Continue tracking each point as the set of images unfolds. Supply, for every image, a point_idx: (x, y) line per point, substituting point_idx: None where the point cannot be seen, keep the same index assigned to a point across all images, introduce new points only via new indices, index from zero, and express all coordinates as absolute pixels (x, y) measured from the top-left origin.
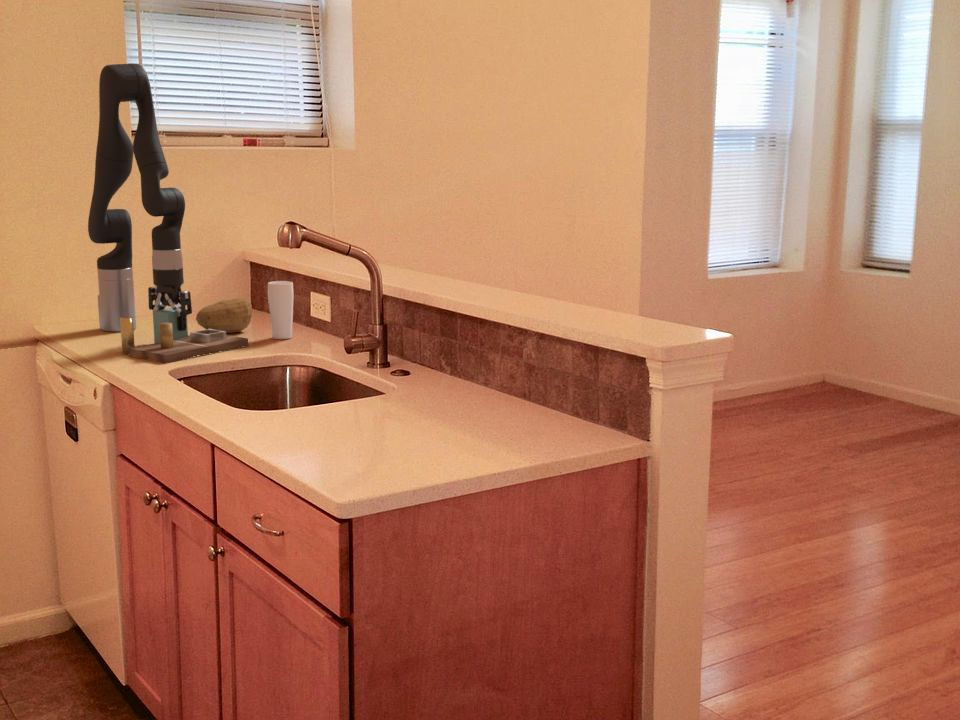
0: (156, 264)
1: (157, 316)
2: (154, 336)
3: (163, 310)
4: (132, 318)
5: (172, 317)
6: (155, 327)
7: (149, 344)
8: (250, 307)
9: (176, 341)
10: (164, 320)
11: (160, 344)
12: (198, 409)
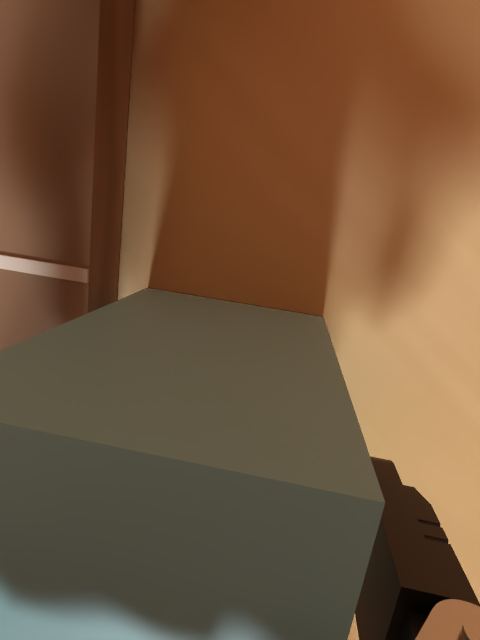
0: None
1: (233, 415)
2: (323, 333)
3: (220, 625)
4: None
5: None
6: (305, 360)
7: (89, 12)
8: None
9: (2, 255)
10: (81, 363)
11: (10, 77)
12: None
